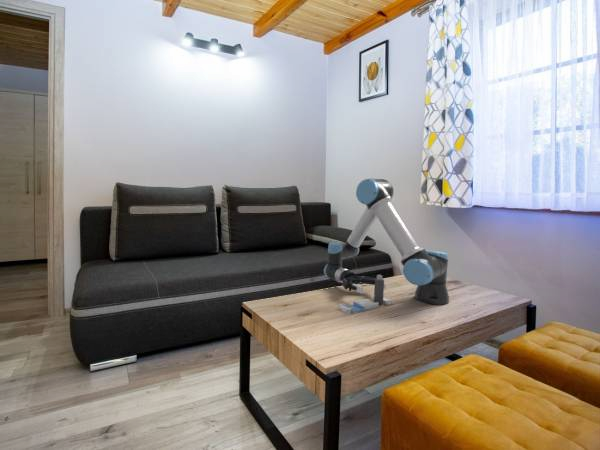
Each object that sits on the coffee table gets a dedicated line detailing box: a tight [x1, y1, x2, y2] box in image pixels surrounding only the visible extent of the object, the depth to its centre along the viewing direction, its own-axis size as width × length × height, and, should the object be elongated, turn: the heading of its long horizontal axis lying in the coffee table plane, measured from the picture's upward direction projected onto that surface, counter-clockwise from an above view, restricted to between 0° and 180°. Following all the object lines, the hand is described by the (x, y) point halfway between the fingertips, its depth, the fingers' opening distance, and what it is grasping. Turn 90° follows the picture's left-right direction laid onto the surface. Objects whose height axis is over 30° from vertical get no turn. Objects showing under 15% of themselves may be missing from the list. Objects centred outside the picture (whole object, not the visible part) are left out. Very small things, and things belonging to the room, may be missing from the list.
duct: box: [338, 295, 393, 314], centre depth 152 cm, size 25×7×2 cm, turn 119°
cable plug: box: [373, 274, 385, 307], centre depth 154 cm, size 4×4×13 cm
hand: (373, 288), depth 157 cm, fingers open, 13 cm apart
